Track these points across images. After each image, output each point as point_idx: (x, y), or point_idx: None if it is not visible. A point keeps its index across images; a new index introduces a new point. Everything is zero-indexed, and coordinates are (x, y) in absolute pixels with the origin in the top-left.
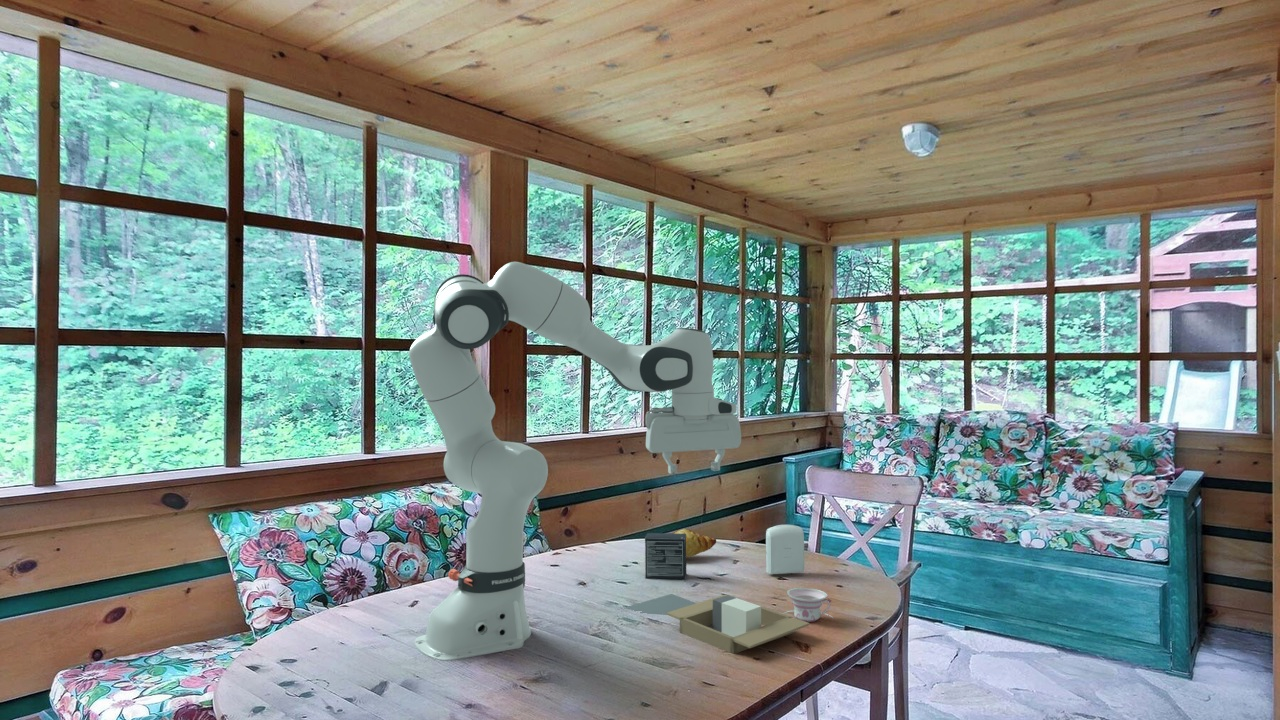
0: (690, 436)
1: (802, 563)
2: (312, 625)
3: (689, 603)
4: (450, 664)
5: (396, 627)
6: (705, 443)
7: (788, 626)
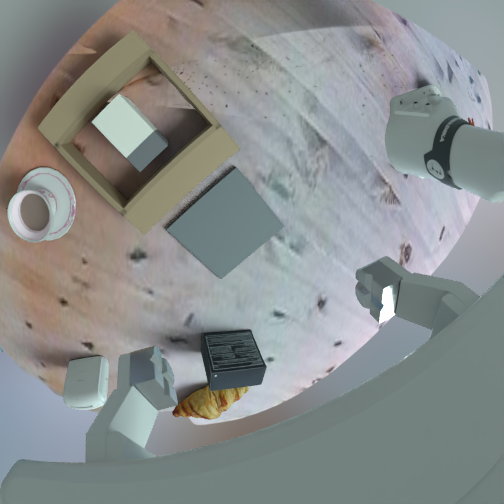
0: (444, 470)
1: (69, 367)
2: None
3: (197, 246)
4: None
5: None
6: (253, 488)
7: (64, 107)
